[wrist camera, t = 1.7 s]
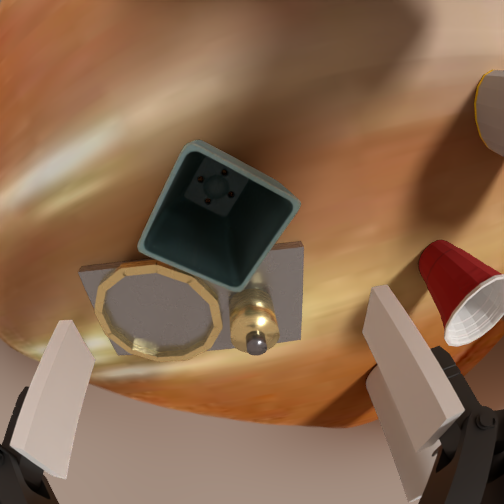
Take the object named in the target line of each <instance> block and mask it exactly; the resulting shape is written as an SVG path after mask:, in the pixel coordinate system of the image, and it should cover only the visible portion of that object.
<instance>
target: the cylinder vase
mask: <svg viewBox="0 0 504 504" xmlns="http://www.w3.org/2000/svg"><path fill="white" fill-rule="evenodd" d="M366 388H367V390H368V393H369V395H370V398H371V400H372V403H373V405H374V408H375V411H376V413H377V416H378V418H379V421H380V424H381V426H382V429H383V431H384V434H385V437H386V439H387V442H388V445H389V448H390V450H391V453H392V456H393V459H394V462H395V464H396V467H397V470H398V473H399V476H400V479H401V482H402V485H403V488H404V491H405V494H406V497H407V500H408V502H412V501H415V500H417V499H420V498H421V497H422V494H423V492H424V489H425V487H426V484H427V482H428V479H429V476H430V474H431V471H432V468H433V465H434V462H435V459H436V456H437V454H436V455H435V456H434V457H433V456H431V455H432V454H433V452H434V451H435V450H436V449H437V448H438V447H439V446H440V445H441V442H440V440H439V439H438V440H437V442H436V443H435V444H434V445H432V446H430V447H428V448H426V449H423V450H421V451H419V452H415V449H414V447H413V444H412V442H411V439H410V437H409V435H408V432H407V430H406V427H405V425H404V423H403V420H402V418H401V416H400V413H399V411H398V409H397V406H396V404H395V402H394V399H393V397H392V395H391V393H390V390H389V388H388V386H387V384H386V382H385V379H384V377H383V375H382V373H381V371H380V369H379V366H378V365H377V366H376V367H375V368H374V369H373V370H372V371H371V373H370V374H369V376H368V378H367V380H366Z"/></svg>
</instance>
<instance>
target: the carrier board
mask: <svg viewBox="0 0 504 504" xmlns="http://www.w3.org/2000/svg"><path fill="white" fill-rule="evenodd" d="M303 260H304V246H303V244H302V242H301V241H298V242H289V243H280V244H274V246H273V247H272V249H271V250H270V252H269V253H268V255H267V256H266V258H265V259H264V260H263V262H262V263H261V265H260V266H259V268H258V269H257V271H256V272H255V274H254V275H253V277H252V278H251V280H250V281H249V283H248V284H247V285H246V287H245V288H244V290H243V291H241V292H233V291H229V290H227V289H225V288H223V287H220V286H218V285H216V284H214V283H211V282H209V281H206V280H204V279H202V278H199V277H197V276H194V275H192V274H190V273H187V272H185V271H183V270H180V269H178V268H175V267H173V266H170V265H169V264H165V263H163V262H161V261H158V260H156V259H154V258H149V259H140V260H132V261H123V262H115V263H106V264H98V265H90V266H82V267H81V268H80V270H79V272H78V273H79V276H80V278H81V280H82V283H83V285H84V287H85V290H86V292H87V294H88V296H89V299H90V301H91V303H92V305H93V307H94V312H95V314H96V317H97V319H98V321H99V323H100V325H101V327H102V329H103V331H104V332H105V334H106V336H107V337H108V338H109V339H110V341H111V343H112V345H113V347H114V349H115V351H116V352H117V354H118V355H137V356H140V357H143V358H146V359H150V360H153V361H156V362H168V361H186V360H189V359H191V358H193V357H195V356H197V355H199V354H201V353H203V352H205V351H210V350H221V349H231V348H237V349H238V350H240V351H243V352H247V353H249V354H251V355H261V354H263V353H265V352H266V350H268V349H270V348H272V347H273V346H274V345H275V344H276V343H281V342H288V341H294V340H301V322H302V297H303Z"/></svg>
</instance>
